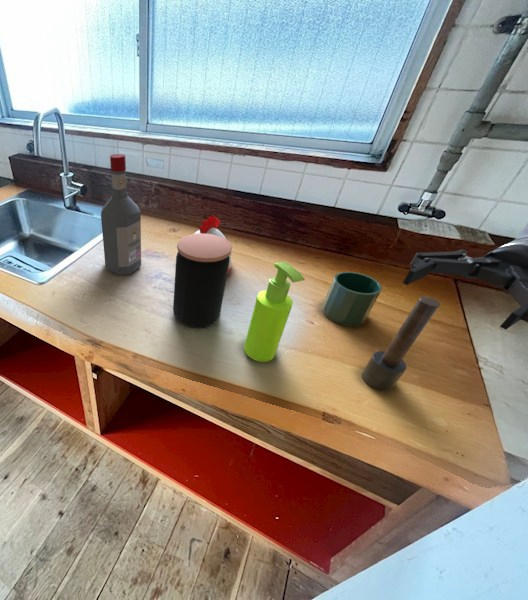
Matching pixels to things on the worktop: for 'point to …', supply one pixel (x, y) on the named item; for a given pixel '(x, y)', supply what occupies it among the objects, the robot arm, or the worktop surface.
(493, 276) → the robot arm
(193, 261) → the coffee jar
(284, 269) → the soap dispenser
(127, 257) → the liquor
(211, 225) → the kitchen timer
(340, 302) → the teal faceted cup
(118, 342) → the worktop surface
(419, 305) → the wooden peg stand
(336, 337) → the worktop surface
